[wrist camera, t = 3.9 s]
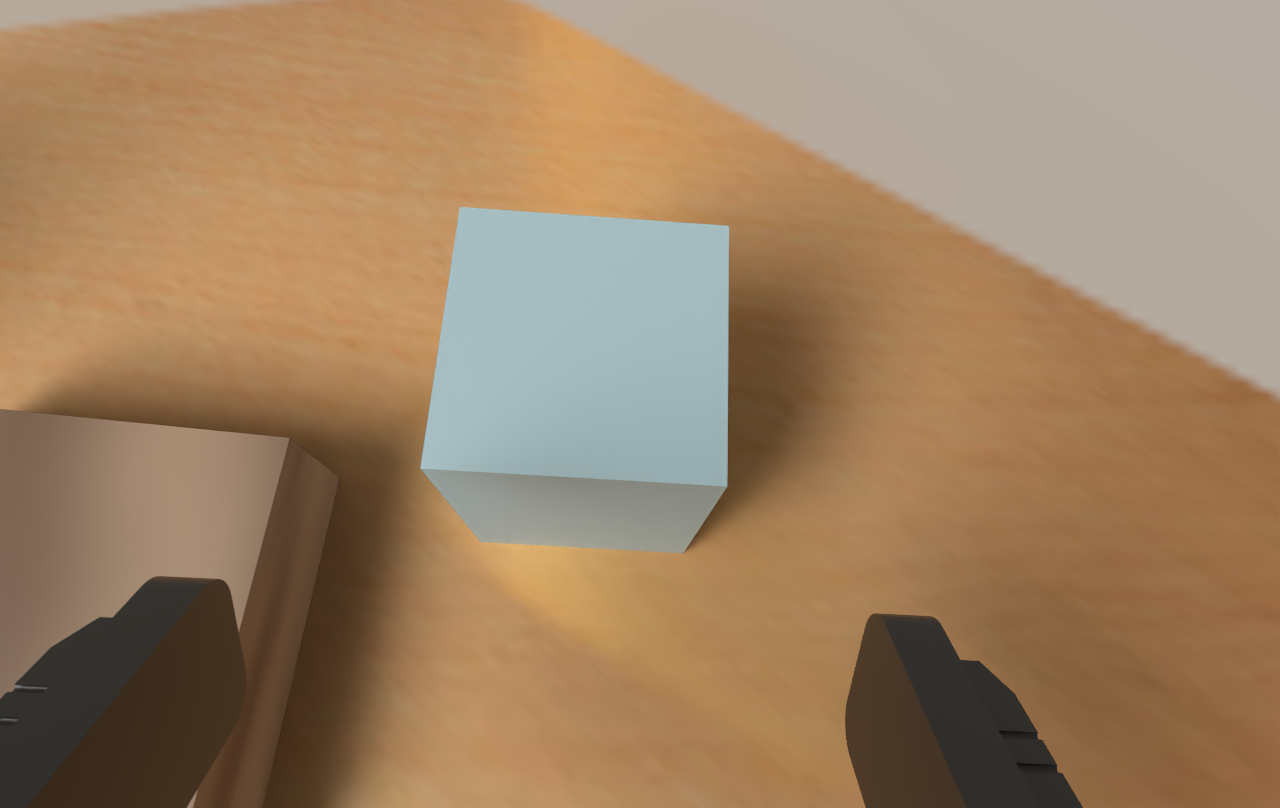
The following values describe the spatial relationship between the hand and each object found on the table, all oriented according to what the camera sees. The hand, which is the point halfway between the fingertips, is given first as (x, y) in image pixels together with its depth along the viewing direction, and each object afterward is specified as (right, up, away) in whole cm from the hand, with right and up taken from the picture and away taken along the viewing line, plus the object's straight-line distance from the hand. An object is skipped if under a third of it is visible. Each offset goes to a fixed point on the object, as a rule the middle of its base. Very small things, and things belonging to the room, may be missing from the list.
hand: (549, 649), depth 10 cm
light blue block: (0, +2, +12) cm, 12 cm away
